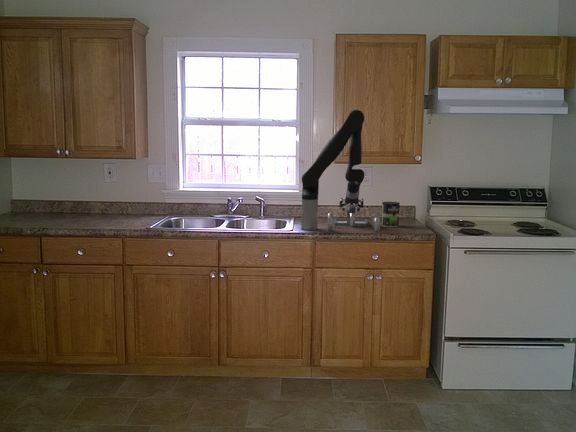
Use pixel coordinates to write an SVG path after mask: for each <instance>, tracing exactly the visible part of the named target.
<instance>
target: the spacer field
mask: <svg viewBox="0 0 576 432" xmlns="http://www.w3.org/2000/svg"><path fill="white" fill-rule="evenodd" d="M378 215H379V214H378V213H372V215H371V216H372V217H371V219H372V222H371V228H372V229H374V231H377V232H376V233H379V232H378V231H381V230H380V229H381V217H379V216H378ZM355 219H356V212H355V213H350V226H349V228H355V227H356V226H355ZM374 231H373V232H374ZM327 232H334V212H333V213H332V212H329V213H328V212H327Z"/></svg>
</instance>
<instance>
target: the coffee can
mask: <svg viewBox="0 0 576 432" xmlns="http://www.w3.org/2000/svg"><path fill="white" fill-rule="evenodd" d="M381 207H382V209H381V227H385V228H398V227H399V225H400V224H399V223H400V202H397V201H383V202H382V205H381Z"/></svg>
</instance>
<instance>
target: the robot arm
mask: <svg viewBox="0 0 576 432" xmlns="http://www.w3.org/2000/svg"><path fill="white" fill-rule="evenodd" d="M365 118H366V117H365V113H363V111H361V110H359V109H353V110H351V111H350V112H349V113H348V115H347V117H346V119H345V121H344V122H343V124H341V126H340V128H339V130H337V131H336V132H334V133H335V134H333V136H332V137H331V138H330V139H329V140H328V142H327V143H326V144H325V145H324V147H323V148H322V149H321V151H320V152H319V154H318V156H317V158H316V160H315V161H314V162H313V164H312V165H311V166H310V167H309V168H308V169H307V170H306V171H305V172H304V173H303V174H302V176H301V183H302V189H301V190H302V191H301V192H302V193H301V215H300V216H301V222H300V225H301V226H300V227H301V230H304V231H305V230H306V231H314V230H317V229H318V228H319V227H318V226H319V224H318V223H319V222H318V220H319V219H318V217H319V214H318V213H319V188H320V187H319V184H320V183H319V182H320V181H319V180H320V178H321V176H322V175H323V173H324V172H325V171H326V169H327V168H328V167H329V166H330V165H332V164H333V162H334V161H336V159H337V158H338V157H339V155H340V154H341V152H342V151H343V150H344V149H345V147H346V145H347V144H348V141H349V147H348V148H349V149H348V162H347V163H348V164H347V168H346V172H345V175H344V176H345V180H346V182H347V188H346V191H345V192H346V193H345V198H344V199H343V197H340V199H339V208H341V210H342V212H345V209H346V208H347V207H355V208H357V209H356V212H358V213H359V212H360V210H361V209H363V208H364V198H361V199H359V198H360V188H361V187H360V186H361V184H362V182H364V179H365V171H364V170H363V169H361V168H353V167H355V166H358V165H361V164H362V153H363V151H362V149H363V148H362V130H363V125H364V123H365Z"/></svg>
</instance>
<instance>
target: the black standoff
mask: <svg viewBox="0 0 576 432" xmlns="http://www.w3.org/2000/svg"><path fill="white" fill-rule="evenodd" d="M350 213H355V214H356V206H347V207H346V219H347V223H350Z"/></svg>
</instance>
